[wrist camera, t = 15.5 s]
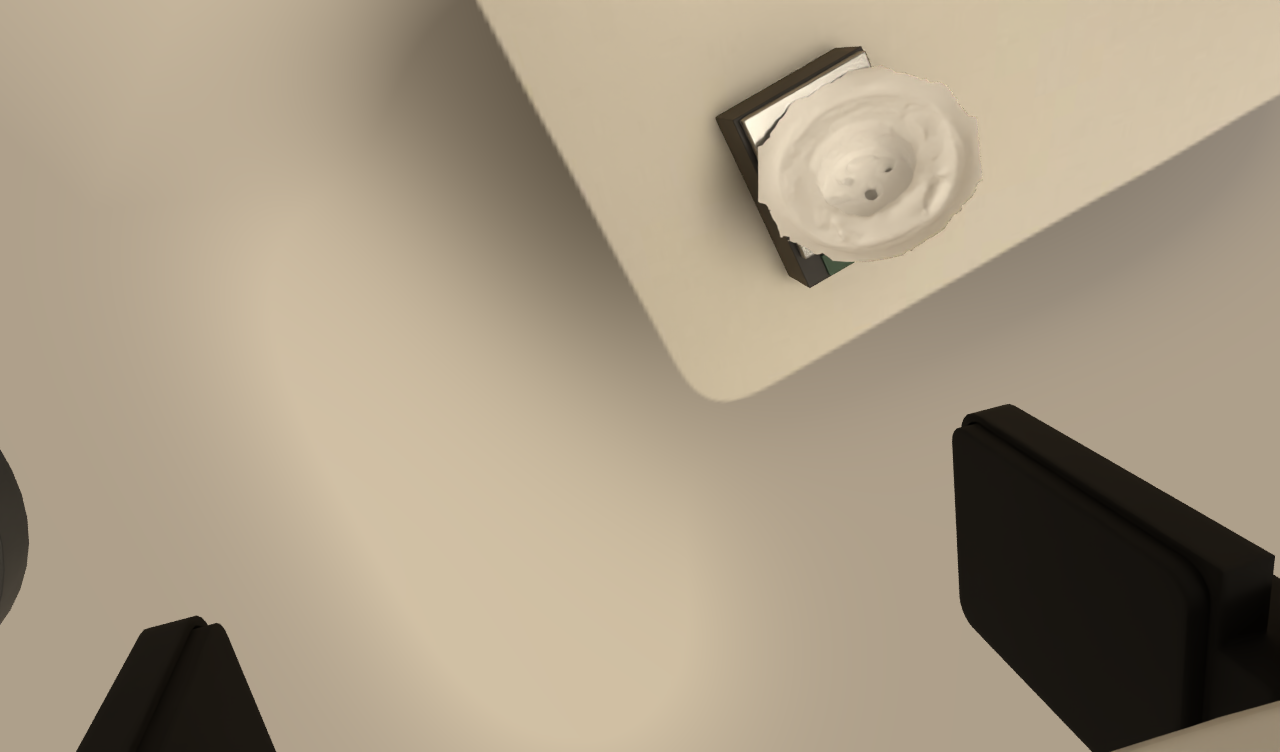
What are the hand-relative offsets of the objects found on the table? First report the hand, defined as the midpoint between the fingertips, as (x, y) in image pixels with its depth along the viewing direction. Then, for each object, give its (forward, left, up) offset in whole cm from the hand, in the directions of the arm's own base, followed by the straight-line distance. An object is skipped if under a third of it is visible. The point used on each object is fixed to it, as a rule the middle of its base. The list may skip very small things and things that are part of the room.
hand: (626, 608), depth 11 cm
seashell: (+14, +1, -25) cm, 28 cm away
